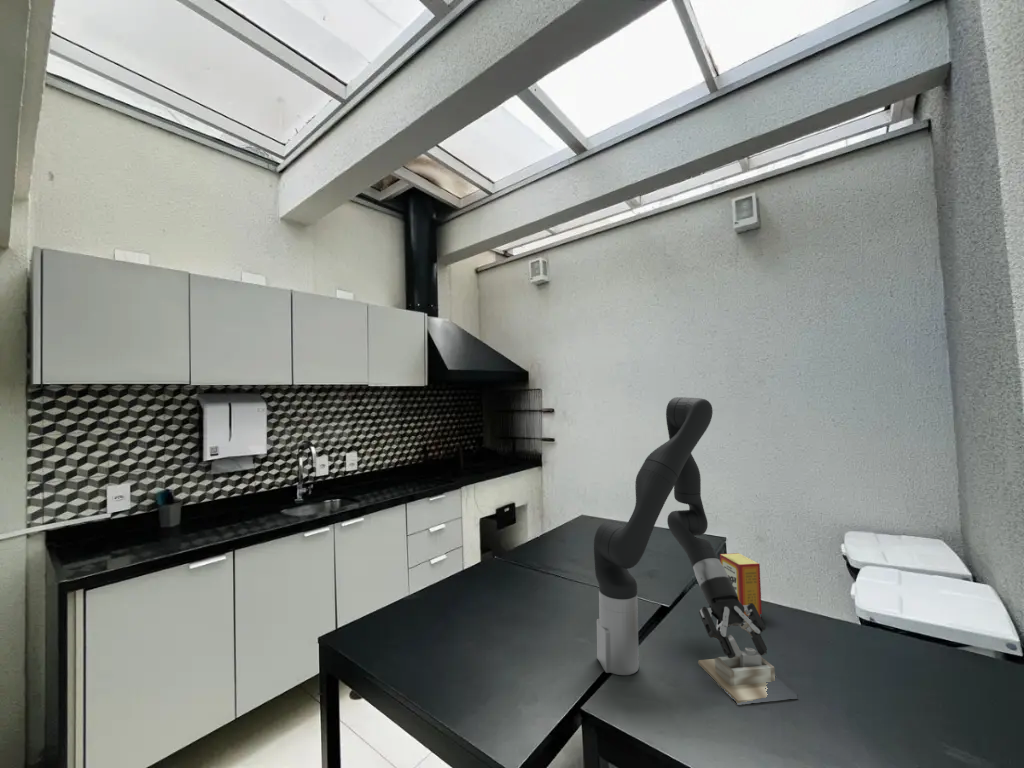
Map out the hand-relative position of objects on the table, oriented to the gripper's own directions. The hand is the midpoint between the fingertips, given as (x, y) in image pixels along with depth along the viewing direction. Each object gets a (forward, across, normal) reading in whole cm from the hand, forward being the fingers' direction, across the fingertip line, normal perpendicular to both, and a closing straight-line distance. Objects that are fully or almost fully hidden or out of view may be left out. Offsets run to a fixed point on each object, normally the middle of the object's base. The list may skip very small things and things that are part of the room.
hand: (748, 655), depth 92 cm
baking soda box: (-17, +22, +27) cm, 39 cm away
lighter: (+2, 0, +4) cm, 5 cm away
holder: (+3, 0, +5) cm, 6 cm away
